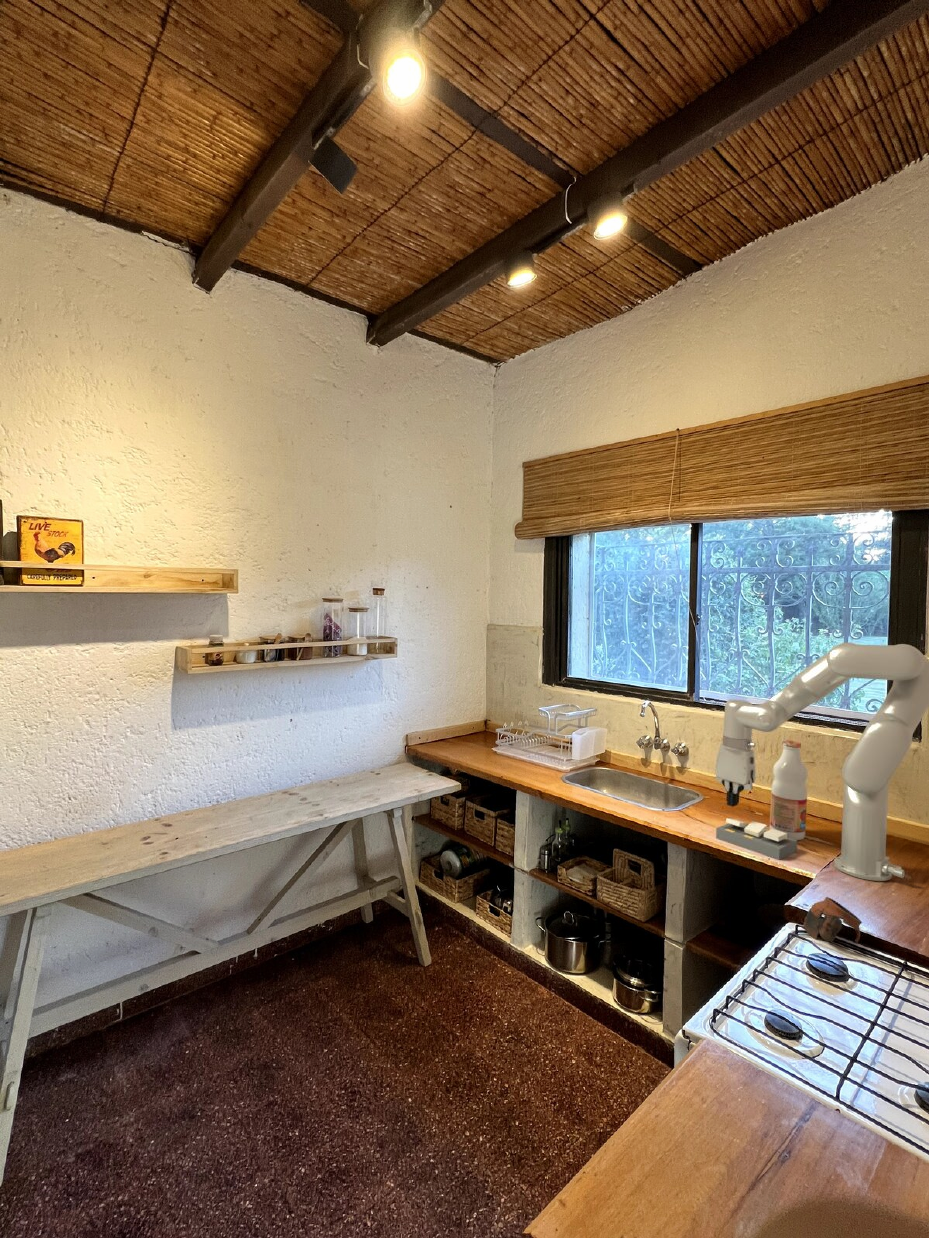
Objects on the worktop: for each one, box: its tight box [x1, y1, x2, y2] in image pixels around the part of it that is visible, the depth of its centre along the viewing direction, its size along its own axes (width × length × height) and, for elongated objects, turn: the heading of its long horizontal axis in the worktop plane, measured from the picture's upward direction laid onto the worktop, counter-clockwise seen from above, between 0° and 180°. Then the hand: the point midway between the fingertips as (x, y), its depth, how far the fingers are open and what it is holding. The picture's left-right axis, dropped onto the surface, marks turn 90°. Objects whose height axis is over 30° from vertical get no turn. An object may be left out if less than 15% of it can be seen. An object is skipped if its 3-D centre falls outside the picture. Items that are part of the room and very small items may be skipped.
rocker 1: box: [725, 817, 749, 828], centre depth 174 cm, size 4×5×2 cm
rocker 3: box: [764, 829, 787, 841], centre depth 165 cm, size 4×5×2 cm
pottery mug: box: [802, 896, 863, 944], centre depth 122 cm, size 12×10×8 cm
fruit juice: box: [769, 739, 809, 841], centre depth 178 cm, size 9×9×28 cm
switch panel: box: [715, 823, 798, 861], centre depth 170 cm, size 18×10×3 cm, turn 37°
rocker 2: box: [744, 820, 768, 837], centre depth 170 cm, size 4×5×2 cm
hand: (732, 804), depth 174 cm, fingers closed
